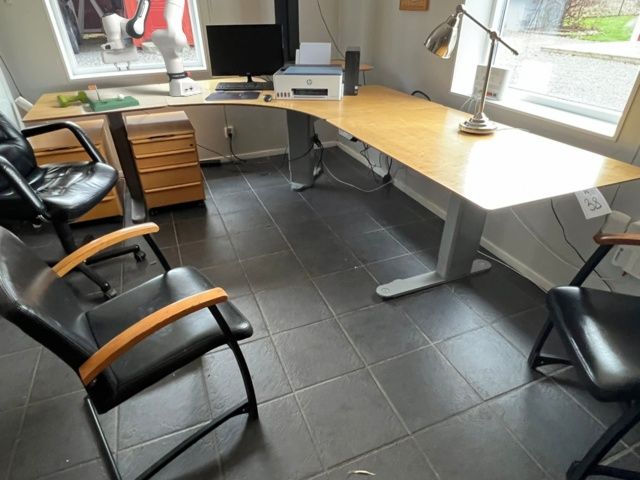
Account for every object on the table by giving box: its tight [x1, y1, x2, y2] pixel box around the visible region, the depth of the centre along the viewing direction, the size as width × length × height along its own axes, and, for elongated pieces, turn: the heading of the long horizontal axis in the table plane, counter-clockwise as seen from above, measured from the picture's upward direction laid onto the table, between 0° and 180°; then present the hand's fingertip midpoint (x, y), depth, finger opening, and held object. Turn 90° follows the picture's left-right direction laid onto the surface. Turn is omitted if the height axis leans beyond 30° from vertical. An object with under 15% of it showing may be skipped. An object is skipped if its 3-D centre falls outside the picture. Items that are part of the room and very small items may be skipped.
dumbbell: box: [56, 90, 89, 108], centre depth 240 cm, size 16×8×7 cm, turn 140°
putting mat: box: [87, 84, 140, 113], centre depth 234 cm, size 25×18×12 cm
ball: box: [117, 93, 125, 100], centre depth 238 cm, size 4×4×4 cm
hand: (124, 70), depth 233 cm, fingers open, 4 cm apart
